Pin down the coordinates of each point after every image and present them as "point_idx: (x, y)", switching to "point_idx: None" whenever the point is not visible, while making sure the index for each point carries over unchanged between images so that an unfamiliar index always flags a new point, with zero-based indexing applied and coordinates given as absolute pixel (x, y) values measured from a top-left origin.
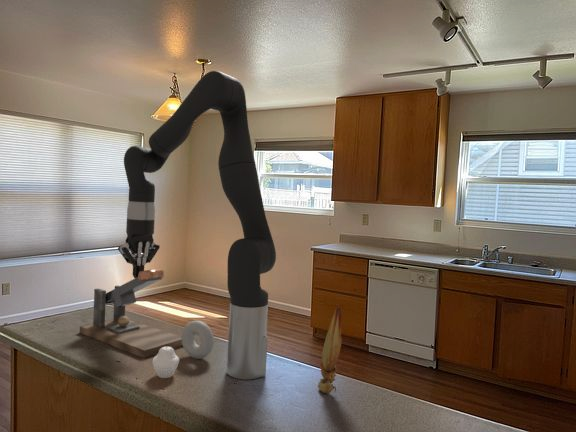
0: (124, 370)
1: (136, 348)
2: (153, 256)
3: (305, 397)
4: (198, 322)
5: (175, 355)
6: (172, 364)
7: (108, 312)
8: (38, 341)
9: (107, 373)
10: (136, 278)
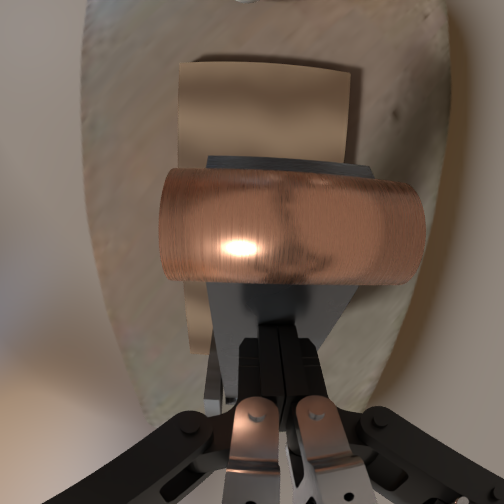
0: (420, 63)
1: (347, 109)
2: (130, 453)
3: None
4: None
5: None
6: None
7: (170, 403)
8: (389, 344)
9: (448, 84)
10: (345, 302)
